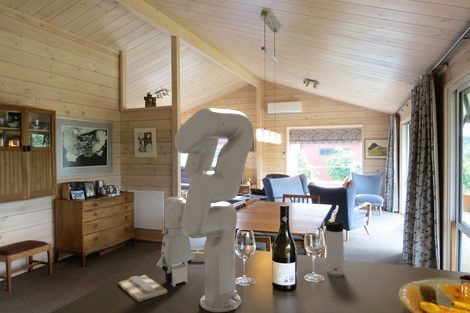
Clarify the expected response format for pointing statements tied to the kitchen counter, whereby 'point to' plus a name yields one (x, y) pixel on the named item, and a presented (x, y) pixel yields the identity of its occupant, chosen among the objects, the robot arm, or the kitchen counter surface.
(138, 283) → the steel rail
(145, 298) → the mounting board
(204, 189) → the robot arm
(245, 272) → the kitchen counter surface
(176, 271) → the white cube
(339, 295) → the kitchen counter surface
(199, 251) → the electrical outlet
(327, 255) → the travel mug
